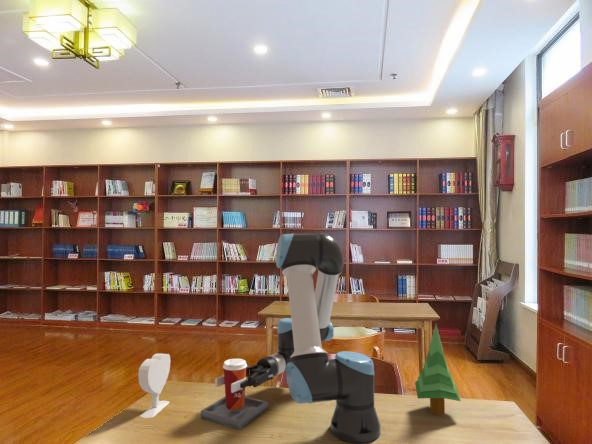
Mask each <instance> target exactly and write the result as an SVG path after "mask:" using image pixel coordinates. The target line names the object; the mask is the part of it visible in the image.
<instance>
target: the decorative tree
mask: <svg viewBox="0 0 592 444" xmlns="http://www.w3.org/2000/svg"><path fill="white" fill-rule="evenodd" d="M433 329H434V330H433V332H432V337H431V339H430V343H429V346H428V347H429V349H428V350H429V351H428V353H427V355H426V360H425V362H424V364H423V368H422V369H421V370H420V374H419V376H418V377H417V380H415V383H414V385H415V389H416V396H417V397H416V398H417V399H429V410H430V413H431V414H435V415H438V416H439V415H445V413H446V412H445V404H446V403H445V402H446V401H445V399H446V400H451V401H458V402H461V401H462V400H461V398H460V395H459V391H458V388H457V385H456V384H455V381H454V378H453V377H452V374H451V372H450V370H449V366H448V364H447V361H446V357H445V355H444V349H443V345H442V341H441V337H440V332H439V329H438V324H437V323H435V326H434V328H433Z"/></svg>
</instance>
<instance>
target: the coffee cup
mask: <svg viewBox="0 0 592 444" xmlns="http://www.w3.org/2000/svg"><path fill="white" fill-rule="evenodd" d="M247 364H248V363H247V361H246V360H245V359H243V358H230V359H226V360H224V362H223V365H222V369H223V375H224V380H225V384H224V393H225V396H226V407H227V409H229V410H239V409H242V408H243V407H244V400H245V395H246V387H245V388H243V389H240V390H238V391H236V392H233V393H232V392H231V384H232V383H234V382H237V381H239V380H242V379H244V378H247V377H246V367H247ZM225 396H224V397H225Z"/></svg>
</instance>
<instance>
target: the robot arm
mask: <svg viewBox="0 0 592 444" xmlns="http://www.w3.org/2000/svg"><path fill="white" fill-rule="evenodd" d="M275 253H276V256H275V265H276V268H278V269H281V274H282V276H284V277H285V278H286V280H287V289H288V290H287V291H288V301H289V309H290V310H289V311H290V317H284V318H280V319H279V320H278V322H277V331H276V332H277V352H275V353H273V354H269V355H268V356H264V357H263V358H260V359H259V360H258V361H257V363H256V364H253V365H249V364H248V363H246V364H247V367H246V378H244V379H242V380H239V381H237V382H234V383H232V384H231V392H232V393H233V392H236V391H238V390H240V389H243V388H245V389H246V387H253V388H257V387H259V386H261V385H262V384H264V383H266V382H268V381H270V380H273V379H274V377H276V376H278V375H280V374H282V373H285V372H286V373H285V377H286V382H287V386H288V391H289V393H290V396H291V398H292V400H293V401H294V402H295V403H297V404H310V405H311V404H312V403H313V404H314V403H322V402H323V403H324V402H329V401H336V403H335V408H334V411H333V415H332V417H331V421H330V431H331V434H332V435H334V436H335V437H336V438H337V439H339V440H341V441H344V442H347V443H353V444H354V443H355V444H365V443H370V442H373V441H375V440H376V439H378V438H379V437H380V435H381V422H380V419H379V417H378V413H377V409H376V407H375V369H374V368H375V366H374V362H373V359H371V357H370V356H368V355H366V354H364V353H360V352H356V351H343V350H342V351H339V352H337V353H336V354H335V356H334V358H330V359H329V355H328V352H327V351H326V350H325V349H323V346H322V343H323V342H327V341H331V340H333V338H334V335H335V334H334V329H335V328H334V326H333V323H332V321H331V318H332V317H331V315H332V312H333V306H334V300H335V296H336V292H337V286H338V281H339V275H341V274H342V273H343V270H344V265H345V259H344V253H343V250H342V248H341V246H340V244H339V243H338V241H337V240H336V239H335V238H333V237H332V236H330V235H329V234H327V233H324V232H318V233H317V232H316V233H294V232H292V233H284V234H281V235H280V237H278V242H277V247H276V252H275ZM316 271H318V272H317V278H316V284H315V286H314V278H313V277H314V276H313V275H314V273H315V272H316ZM214 380H215V383H214V384H215V385H214V386H215V387H216V388H218V387H221V386H223V385H225V380H224V374H223V375H220V376H218V377H216V378H214Z"/></svg>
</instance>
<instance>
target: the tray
mask: <svg viewBox="0 0 592 444" xmlns="http://www.w3.org/2000/svg"><path fill="white" fill-rule="evenodd" d="M268 409H269V401H267V400H263V399H262V400H261V399H257V398H254V397H251V396H250V397H249V396H245V400H244V407H243V408H242V409H239V410H229V409H227V407H226V396H223V397H222V398H220V399H218V400H217V401H215V402H213V403H212V404H210V405H208V406H207V407H204V408H203V409H202V410H200V419H202V420H206V421H209V422H212V423H216V424H220V425H223V426H226V427H230V428H233V429H237V430H241V429H243V428H244V427H246V426H247V425H248V424H249V423H251V422H253V420H255V419H257V418H258V417H259V416H261V415H262V414H263V413H265V412H267V410H268Z"/></svg>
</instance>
